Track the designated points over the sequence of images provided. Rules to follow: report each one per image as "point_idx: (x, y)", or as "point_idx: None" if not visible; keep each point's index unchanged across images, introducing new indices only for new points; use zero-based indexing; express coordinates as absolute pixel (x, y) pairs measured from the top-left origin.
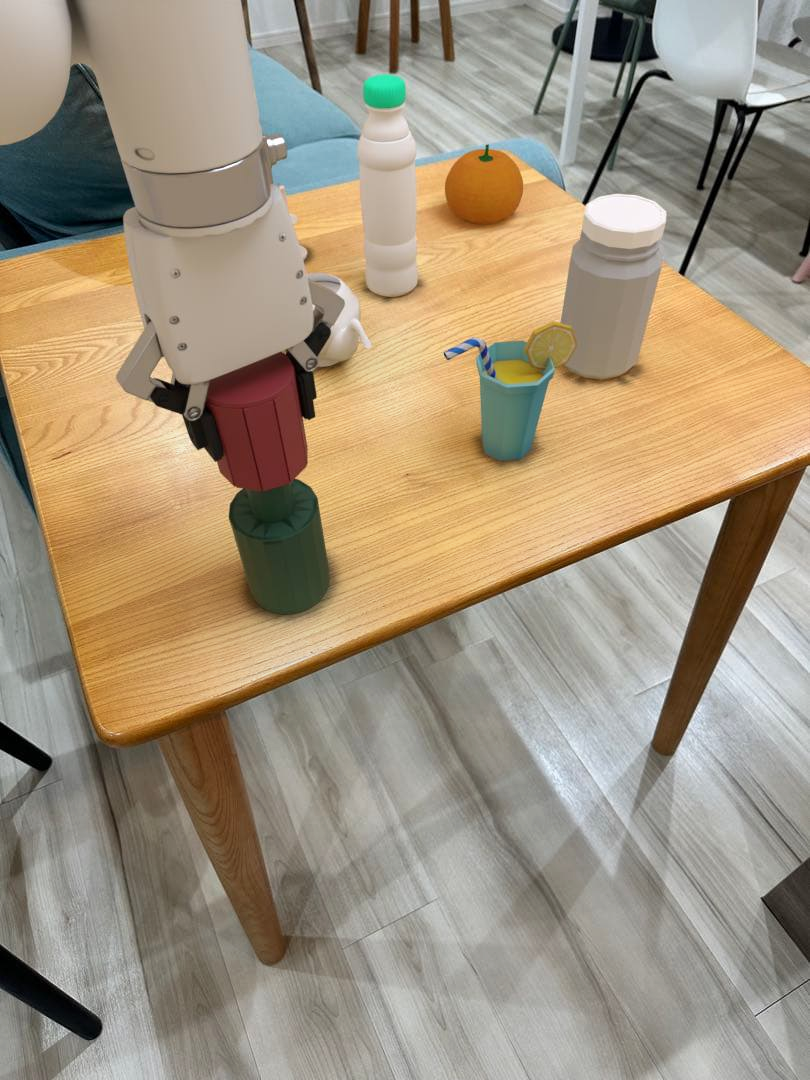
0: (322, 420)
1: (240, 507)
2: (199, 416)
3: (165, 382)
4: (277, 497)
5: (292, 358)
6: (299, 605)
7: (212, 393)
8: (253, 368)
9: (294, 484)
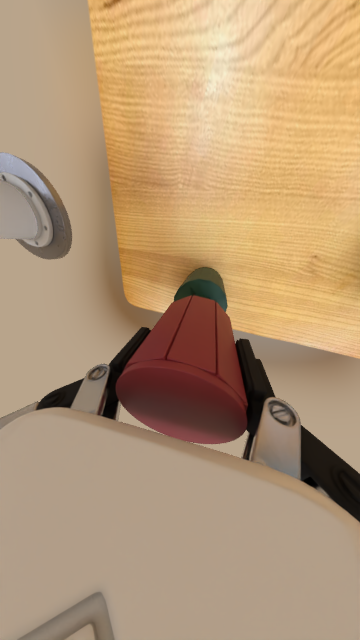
0: (345, 128)
1: (183, 294)
2: None
3: (66, 405)
4: None
5: (252, 423)
6: None
7: (129, 408)
8: (188, 416)
9: (220, 298)
